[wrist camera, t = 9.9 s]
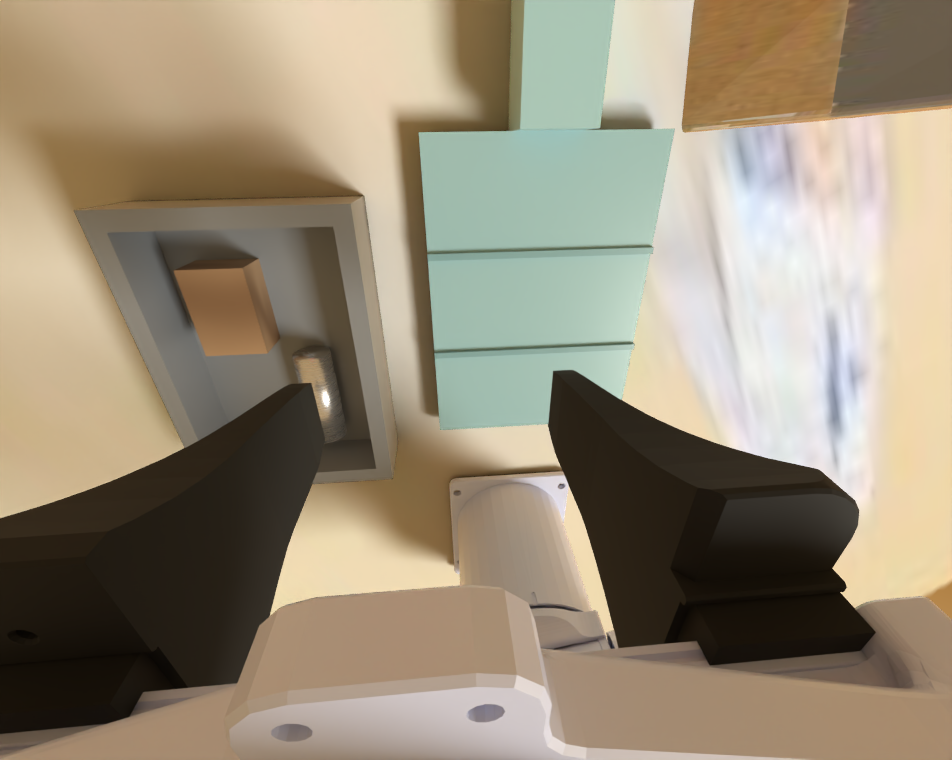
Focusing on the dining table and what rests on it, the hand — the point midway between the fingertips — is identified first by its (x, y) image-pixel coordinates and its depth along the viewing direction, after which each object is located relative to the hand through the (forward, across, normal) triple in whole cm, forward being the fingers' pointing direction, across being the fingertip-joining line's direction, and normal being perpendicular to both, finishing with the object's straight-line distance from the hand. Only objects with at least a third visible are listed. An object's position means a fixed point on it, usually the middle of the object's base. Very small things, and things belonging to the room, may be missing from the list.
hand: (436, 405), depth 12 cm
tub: (+10, +8, +2) cm, 13 cm away
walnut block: (+9, +10, 0) cm, 13 cm away
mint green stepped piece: (+10, -5, -2) cm, 11 cm away
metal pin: (+9, +6, +4) cm, 12 cm away
